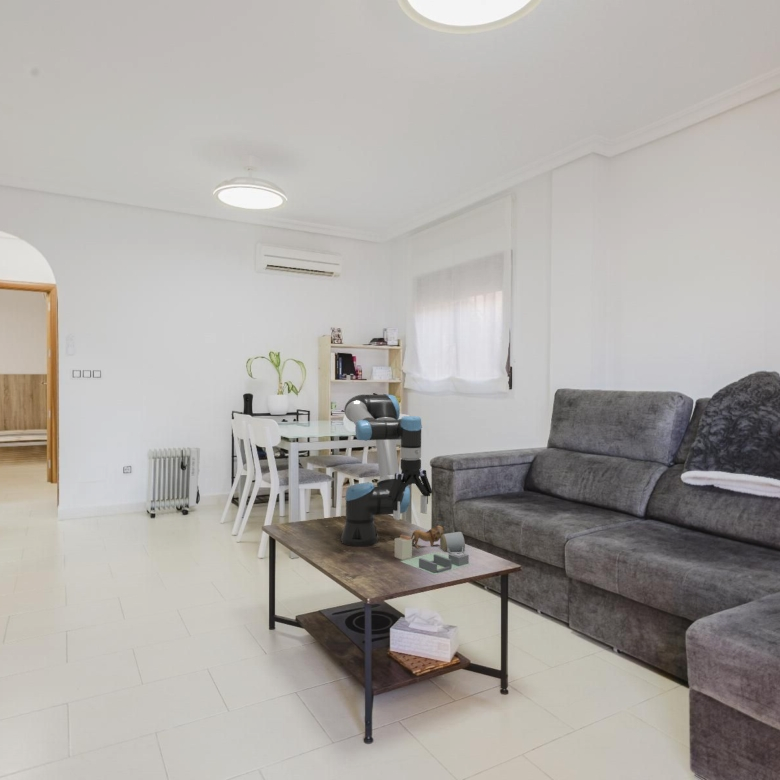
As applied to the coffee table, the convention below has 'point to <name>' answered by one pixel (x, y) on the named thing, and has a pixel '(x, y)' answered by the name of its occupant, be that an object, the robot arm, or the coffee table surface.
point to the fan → (459, 558)
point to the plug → (403, 547)
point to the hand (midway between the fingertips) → (410, 516)
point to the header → (432, 565)
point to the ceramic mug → (452, 542)
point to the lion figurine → (427, 535)
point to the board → (429, 557)
